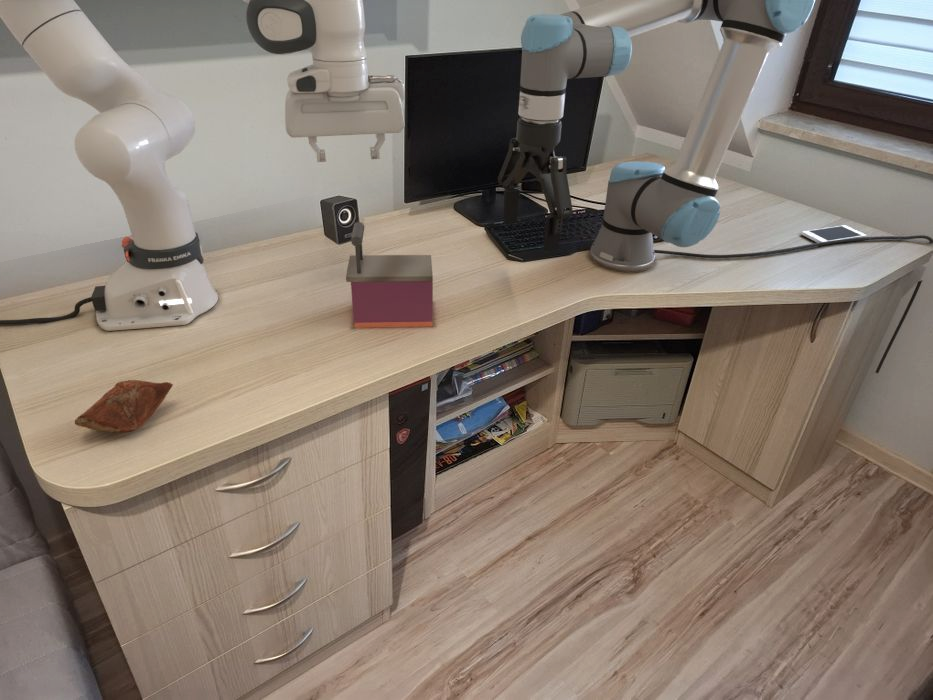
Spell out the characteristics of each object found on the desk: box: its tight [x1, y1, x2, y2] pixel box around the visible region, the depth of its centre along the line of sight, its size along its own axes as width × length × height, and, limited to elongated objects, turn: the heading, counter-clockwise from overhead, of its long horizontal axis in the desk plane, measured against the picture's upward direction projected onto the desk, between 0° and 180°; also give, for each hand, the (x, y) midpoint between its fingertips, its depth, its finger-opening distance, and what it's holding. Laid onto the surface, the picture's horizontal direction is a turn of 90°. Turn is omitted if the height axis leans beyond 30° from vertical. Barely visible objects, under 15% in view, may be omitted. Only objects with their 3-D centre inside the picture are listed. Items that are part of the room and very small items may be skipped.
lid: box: [345, 221, 434, 283], centre depth 121 cm, size 16×9×9 cm, turn 94°
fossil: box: [74, 379, 174, 434], centre depth 97 cm, size 13×8×10 cm
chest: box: [350, 280, 434, 329], centre depth 126 cm, size 15×9×10 cm, turn 95°
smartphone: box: [801, 224, 867, 243], centre depth 170 cm, size 7×16×1 cm, turn 111°
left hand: (348, 159), depth 113 cm, fingers open, 8 cm apart
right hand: (529, 235), depth 119 cm, fingers open, 13 cm apart
